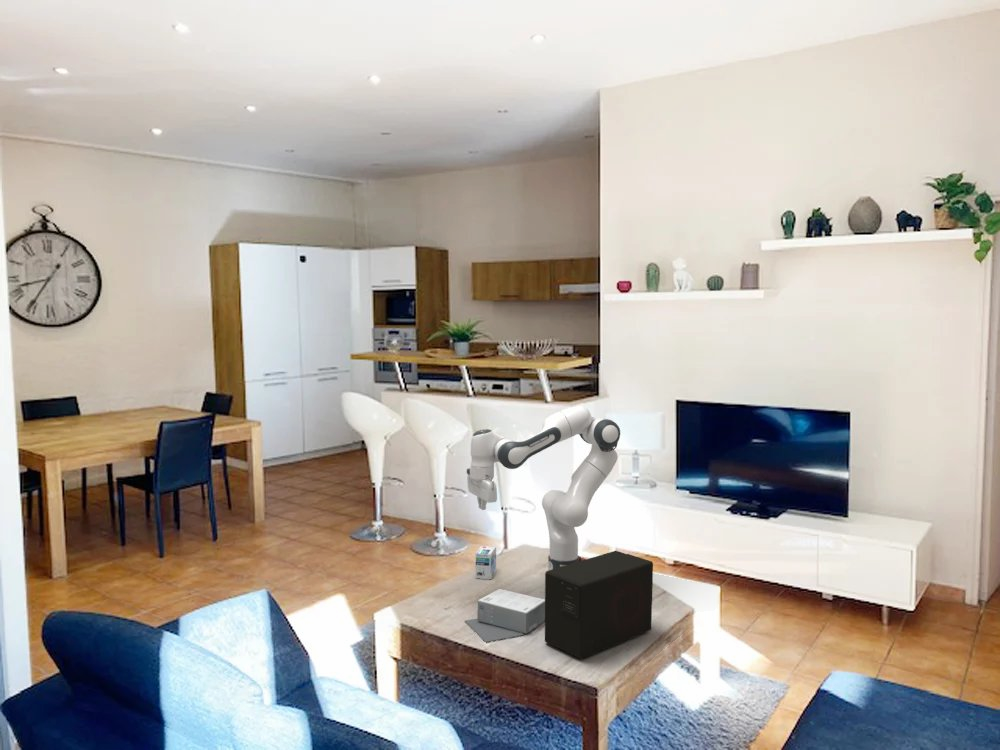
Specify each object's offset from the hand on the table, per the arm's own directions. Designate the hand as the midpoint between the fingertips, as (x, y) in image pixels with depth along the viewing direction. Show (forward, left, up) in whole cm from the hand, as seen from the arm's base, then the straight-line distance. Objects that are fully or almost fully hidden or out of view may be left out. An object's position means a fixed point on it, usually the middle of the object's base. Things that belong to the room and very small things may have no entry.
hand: (482, 508), depth 291 cm
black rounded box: (-23, +47, -35) cm, 63 cm away
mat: (+7, +26, -35) cm, 45 cm away
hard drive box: (+4, +15, -31) cm, 35 cm away
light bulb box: (-12, -24, -35) cm, 44 cm away
